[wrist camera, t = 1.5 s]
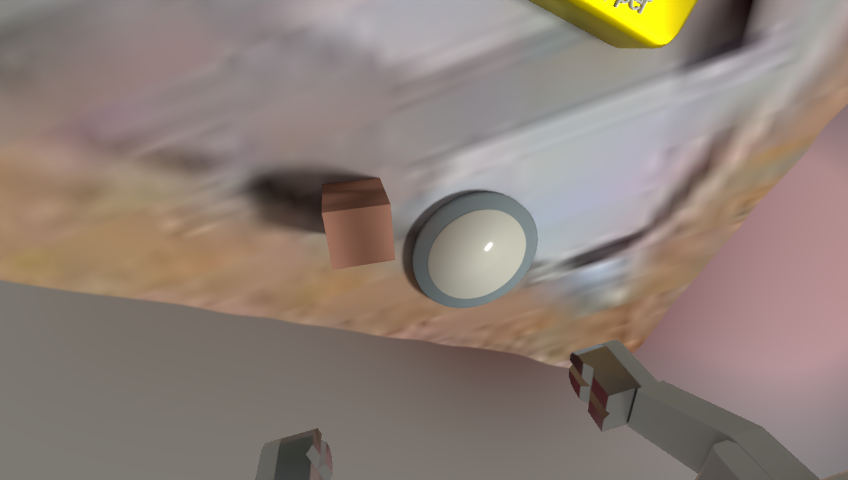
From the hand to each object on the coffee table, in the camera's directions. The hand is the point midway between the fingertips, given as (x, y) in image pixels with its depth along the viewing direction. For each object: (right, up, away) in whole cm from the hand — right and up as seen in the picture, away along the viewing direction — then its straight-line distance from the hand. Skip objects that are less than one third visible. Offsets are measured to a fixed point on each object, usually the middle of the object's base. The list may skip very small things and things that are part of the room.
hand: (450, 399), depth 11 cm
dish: (+5, +4, +26) cm, 27 cm away
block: (-7, +8, +21) cm, 23 cm away
